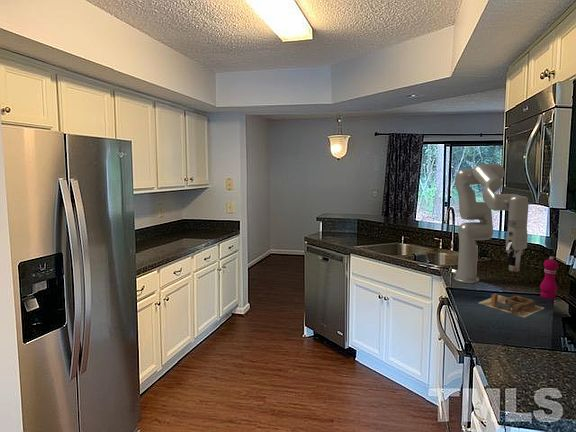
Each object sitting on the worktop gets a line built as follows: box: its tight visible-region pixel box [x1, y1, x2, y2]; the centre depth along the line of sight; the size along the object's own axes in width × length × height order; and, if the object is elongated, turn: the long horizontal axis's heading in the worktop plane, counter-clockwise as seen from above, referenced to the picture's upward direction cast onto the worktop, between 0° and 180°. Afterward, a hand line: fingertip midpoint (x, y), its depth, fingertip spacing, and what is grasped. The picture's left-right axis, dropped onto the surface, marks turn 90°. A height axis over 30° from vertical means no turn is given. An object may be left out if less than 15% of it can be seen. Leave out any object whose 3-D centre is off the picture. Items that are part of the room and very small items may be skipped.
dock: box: [478, 294, 545, 318], centre depth 197 cm, size 21×18×4 cm
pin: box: [490, 293, 511, 310], centre depth 193 cm, size 8×2×5 cm, turn 36°
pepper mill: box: [539, 256, 559, 300], centre depth 210 cm, size 7×7×20 cm
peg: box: [508, 248, 521, 272], centre depth 195 cm, size 4×4×10 cm
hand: (514, 263), depth 195 cm, fingers closed on peg, 4 cm apart
